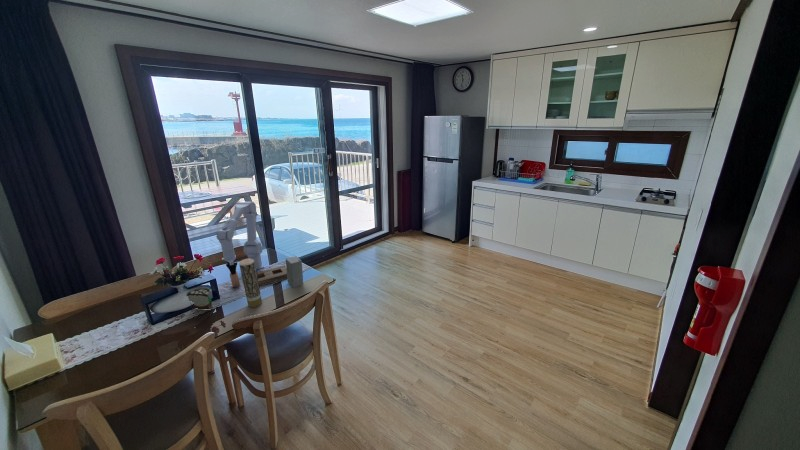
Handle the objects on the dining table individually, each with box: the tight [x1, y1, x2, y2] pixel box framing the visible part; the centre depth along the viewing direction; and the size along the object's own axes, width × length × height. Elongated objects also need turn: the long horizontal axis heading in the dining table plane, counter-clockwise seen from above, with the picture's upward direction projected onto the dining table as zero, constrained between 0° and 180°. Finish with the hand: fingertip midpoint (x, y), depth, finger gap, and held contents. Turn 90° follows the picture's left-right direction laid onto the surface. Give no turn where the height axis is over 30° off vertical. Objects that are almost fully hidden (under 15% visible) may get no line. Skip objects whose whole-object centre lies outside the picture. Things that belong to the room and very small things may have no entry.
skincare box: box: [285, 255, 304, 288], centre depth 179 cm, size 8×7×16 cm
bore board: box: [256, 264, 287, 287], centre depth 187 cm, size 12×22×3 cm, turn 123°
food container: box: [185, 287, 213, 310], centre depth 158 cm, size 12×6×10 cm, turn 84°
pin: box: [229, 271, 241, 288], centre depth 178 cm, size 4×4×8 cm
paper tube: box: [238, 258, 263, 308], centre depth 158 cm, size 7×7×25 cm
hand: (233, 271), depth 176 cm, fingers open, 7 cm apart
